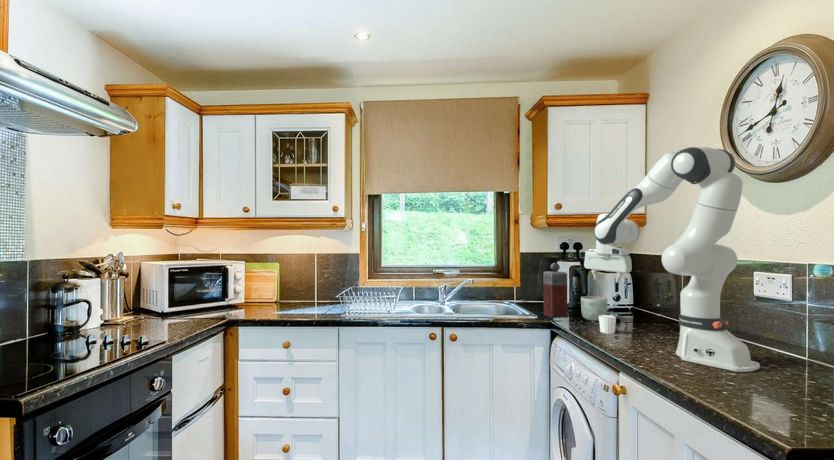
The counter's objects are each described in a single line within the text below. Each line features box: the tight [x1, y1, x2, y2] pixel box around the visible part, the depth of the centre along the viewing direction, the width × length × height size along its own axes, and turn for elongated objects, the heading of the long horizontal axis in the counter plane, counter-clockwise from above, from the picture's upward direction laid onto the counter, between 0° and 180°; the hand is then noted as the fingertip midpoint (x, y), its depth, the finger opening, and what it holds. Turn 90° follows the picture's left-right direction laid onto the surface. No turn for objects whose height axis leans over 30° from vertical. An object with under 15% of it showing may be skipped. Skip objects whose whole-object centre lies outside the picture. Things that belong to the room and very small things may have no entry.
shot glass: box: [598, 314, 617, 335], centre depth 170 cm, size 7×7×7 cm
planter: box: [580, 295, 608, 322], centre depth 198 cm, size 12×12×11 cm
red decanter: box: [543, 262, 568, 319], centre depth 208 cm, size 9×11×28 cm
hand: (606, 281), depth 171 cm, fingers open, 8 cm apart
